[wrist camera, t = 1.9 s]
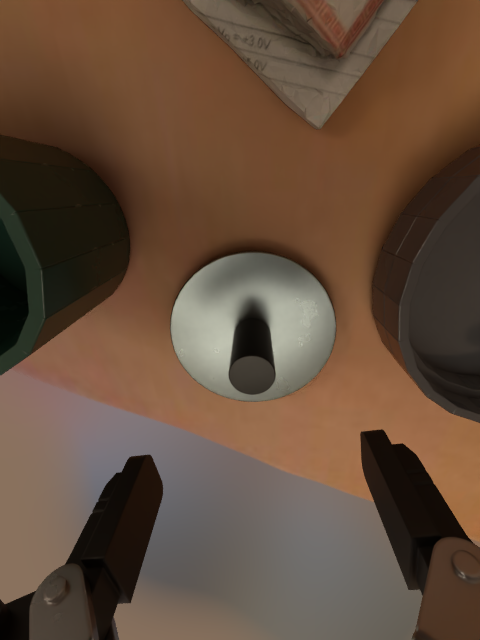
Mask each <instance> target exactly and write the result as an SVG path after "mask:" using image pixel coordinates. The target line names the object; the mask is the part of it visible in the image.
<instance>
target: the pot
mask: <svg viewBox="0 0 480 640" xmlns="http://www.w3.org/2000/svg"><path fill="white" fill-rule="evenodd" d="M129 256H130V239H129V232H128V228H127V224H126V220H125V217H124V215H123V212H122V210H121V207H120V206H119V204H118V202H117V200H116V198H115V196H114V195H113V193H112V192H111V190H110V189H109V187H108V186H107V185H106V184H105V183H104V181H103V180H102V179H101V178H100V177H99V176H98V175H97V174H96V173H95V172H94V171H93V170H92V169H91V168H90V167H88V166H87V165H86V164H85V163H83V162H82V161H81V160H79V159H77V158H76V157H74V156H72V155H71V154H69V153H67V152H65V151H62V150H61V149H59V148H57V147H53V146H48V145H44V144H40V143H35V142H31V141H26V140H22V139H17V138H13V137H8V136H4V135H0V375H2V374H4V373H5V372H6V371H8V370H9V369H11V368H12V367H14V366H15V365H16V364H18V363H19V362H21V361H22V360H24V359H25V358H26V357H28V356H29V355H31V354H32V353H33V352H35V351H36V350H38V349H39V348H40V347H42V346H43V345H44V344H46V343H47V342H48V341H50V340H51V339H52V338H54V337H55V336H57V335H58V334H59V333H61V332H62V331H63V330H65V329H66V328H67V327H69V326H70V325H71V324H73V323H74V322H76V321H77V320H78V319H80V318H81V317H82V316H84V315H85V314H86V313H88V312H89V311H90V310H92V309H93V308H95V307H96V306H97V305H99V304H100V303H101V302H103V301H104V300H105V299H107V298H108V297H109V296H111V295H112V294H113V293H114V291H115V290H116V289H117V288H118V286H119V284H120V283H121V281H122V280H123V278H124V275H125V273H126V270H127V267H128V263H129Z"/></svg>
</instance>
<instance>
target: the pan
mask: <svg viewBox="0 0 480 640" xmlns="http://www.w3.org/2000/svg"><path fill="white" fill-rule="evenodd" d="M373 317H374V320H375V323H376V326H377V329H378V332H379V335H380V338H381V341H382V343H383V344H384V345H385V347H386V348H387V349H388V351H389V352H390V353H391V355H392V356H393V357H394V359H395V360H396V361H397V363H398V364H399V365H400V366H401V367H402V369H403V370H404V371H405V372H406V373H407V374H408V376H409V377H410V378H411V379H412V380H413V382H414V383H415V384H416V385H417V386H418V388H419V389H420V390H421V391H422V392H423V393H424V395H425V396H426V397H428V398H429V399H431V400H432V401H434V402H435V403H437V404H438V405H439V406H441V407H442V408H444V409H445V410H447V411H448V412H450V413H452V414H454V415H457V416H460V417H464V418H467V419H470V420H473V421H476V422H479V423H480V144H479V145H477V146H475V147H473V148H471V149H470V150H468V151H466V152H465V153H464V154H462V155H461V156H460V157H458V158H457V159H456V160H455V161H453V162H452V163H451V164H449V165H448V166H447V167H445V168H444V169H443V170H442V171H440V172H439V173H438V174H436V175H435V176H434V177H432V179H430V180H429V181H428V182H427V183H426V185H425V186H424V187H423V188H422V189H421V190H420V192H419V193H418V194H417V195H416V196H415V197H414V198H413V200H412V201H411V202H410V203H409V204H408V205H407V207H406V208H405V209H404V210H403V211H402V212H401V214H400V216H399V218H398V219H397V221H396V223H395V225H394V227H393V229H392V231H391V232H390V234H389V236H388V238H387V240H386V242H385V244H384V245H383V247H382V250H381V254H380V257H379V261H378V265H377V269H376V273H375V277H374V280H373Z"/></svg>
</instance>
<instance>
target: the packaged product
mask: <svg viewBox="0 0 480 640" xmlns="http://www.w3.org/2000/svg"><path fill="white" fill-rule="evenodd" d="M183 1H184V3H185V4H186V5H187V6H188V7H189V9H190V10H191V11H192V12H193V13H194V14H196V15H197V16H198V17H199V18H200V19H201V20H202V21H203V22H204V23H205V24H206V25H207V26H208V27H209V28H211V29H212V30H213V31H214V32H215V33H216V34H217V35H218V36H219V37H220V38H221V39H222V40H223V41H224V42H226V43H227V44H228V45H229V46H230V47H231V48H232V49H233V50H234V51H235V53H236V54H237V55H238V56H239V57H240V58H241V59H242V60H243V61H244V62H245V63H246V64H247V65H248V66H249V67H250V68H251V69H252V70H253V71H254V72H255V73H256V74H257V75H258V76H259V77H260V78H261V79H262V80H263V81H264V82H265V84H266V85H267V86H268V87H269V88H270V89H271V90H272V91H273V92H274V93H275V94H276V95H277V96H278V97H279V98H280V99H281V100H282V101H283V102H284V103H285V104H286V105H287V106H288V107H289V108H291V109H292V110H293V111H294V112H296V113H297V114H298V115H299V116H300V117H302V118H303V119H304V120H305V121H306V122H308V123H309V124H310V125H311V126H312V127H314V128H315V129H321V128H322V126H323V125H324V124H325V122H326V121H327V120H328V118H329V117H330V116H331V115H332V113H333V112H334V111H335V109H336V108H337V107H338V106H339V104H340V103H341V102H342V100H343V99H344V98H345V96H346V95H347V94H348V93H349V91H350V90H351V89H352V87H353V86H354V85H355V84H356V82H357V81H358V80H359V78H360V77H361V76H362V74H363V73H364V72H365V71H366V69H367V68H368V67H369V65H370V64H371V63H372V62H373V60H374V59H375V58H376V56H377V55H378V54H379V52H380V51H381V50H382V48H383V47H384V46H385V44H386V43H387V41H388V40H389V39H390V37H391V36H392V35H393V33H394V32H395V31H396V29H397V28H398V27H399V25H400V24H401V23H402V21H403V20H404V19H405V17H406V16H407V14H408V13H409V12H410V10H411V9H412V8H413V6H414V5H415V4H416V2H417V1H418V0H183Z"/></svg>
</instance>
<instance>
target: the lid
mask: <svg viewBox="0 0 480 640" xmlns="http://www.w3.org/2000/svg"><path fill="white" fill-rule="evenodd" d="M170 331H171V339H172V343H173V347H174V350H175V352H176V355H177V357H178V359H179V361H180V363H181V364H182V366H183V367H184V368H185V370H186V371H187V372H188V373H189V374H190V376H191V377H192V378H193V379H194V380H196V381H197V382H198V383H199V384H200V385H202V386H203V387H205V388H207V389H208V390H210V391H212V392H214V393H216V394H218V395H221V396H223V397H226V398H230V399H234V400H239V401H249V402H258V401H268V400H273V399H277V398H280V397H284V396H286V395H289V394H291V393H293V392H295V391H297V390H299V389H300V388H302V387H303V386H305V385H306V384H307V383H309V382H310V381H311V380H312V379H313V378H314V377H315V376H316V375H317V374H318V373H319V372H320V371H321V369H322V368H323V367H324V365H325V363H326V362H327V360H328V358H329V356H330V354H331V352H332V349H333V345H334V342H335V335H336V318H335V312H334V308H333V305H332V302H331V300H330V298H329V296H328V294H327V292H326V290H325V289H324V287H323V286H322V284H321V283H320V282H319V281H318V279H317V278H316V277H315V276H314V275H313V274H312V273H311V272H310V271H308V270H307V269H306V268H305V267H304V266H302V265H300V264H299V263H297V262H295V261H294V260H291V259H289V258H287V257H285V256H282V255H278V254H275V253H271V252H264V251H242V252H235V253H231V254H228V255H224V256H222V257H219V258H217V259H214V260H213V261H211V262H209V263H207V264H206V265H204V266H203V267H202V268H200V269H199V270H198V271H196V272H195V273H194V274H193V275H192V276H191V277H190V278H189V279H188V281H187V282H186V283H185V285H184V286H183V288H182V289H181V291H180V292H179V294H178V296H177V298H176V300H175V303H174V306H173V309H172V314H171V323H170Z"/></svg>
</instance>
